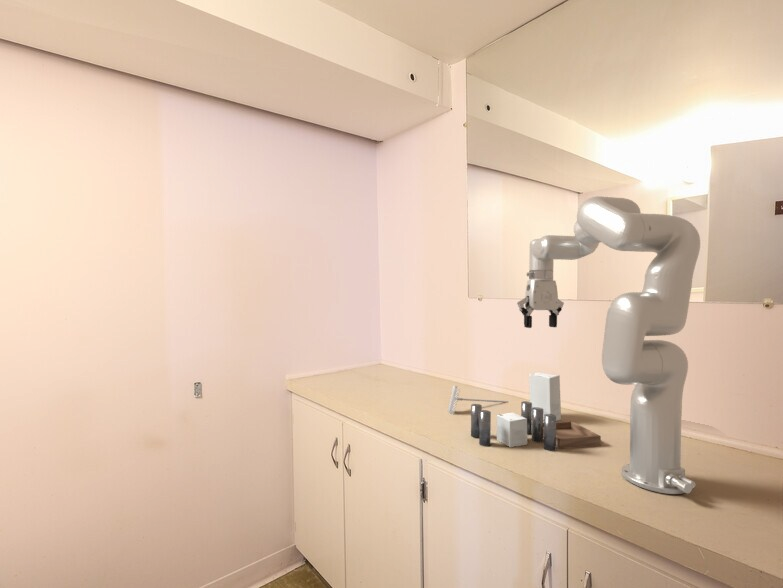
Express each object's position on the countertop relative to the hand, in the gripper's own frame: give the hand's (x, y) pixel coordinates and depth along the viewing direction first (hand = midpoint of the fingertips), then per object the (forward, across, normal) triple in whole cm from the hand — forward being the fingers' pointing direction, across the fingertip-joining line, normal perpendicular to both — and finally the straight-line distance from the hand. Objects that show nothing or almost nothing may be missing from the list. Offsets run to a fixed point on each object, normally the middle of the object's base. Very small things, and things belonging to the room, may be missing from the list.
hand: (540, 327), depth 130 cm
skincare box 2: (+31, +1, -1) cm, 31 cm away
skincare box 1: (+31, -21, -16) cm, 41 cm away
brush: (+31, -14, +15) cm, 37 cm away
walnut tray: (+30, -4, -18) cm, 35 cm away
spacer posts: (+30, -21, -16) cm, 40 cm away
